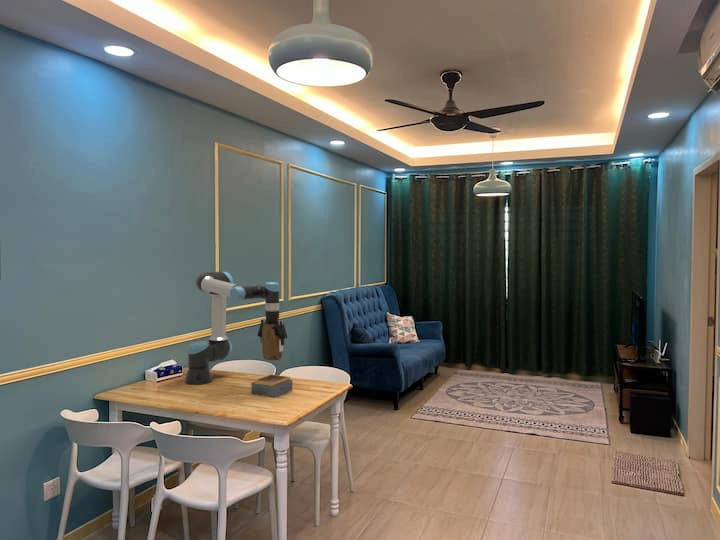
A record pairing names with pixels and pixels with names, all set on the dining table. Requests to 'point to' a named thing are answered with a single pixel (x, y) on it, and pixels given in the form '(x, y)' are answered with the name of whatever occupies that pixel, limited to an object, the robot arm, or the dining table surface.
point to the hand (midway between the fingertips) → (272, 350)
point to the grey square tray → (271, 385)
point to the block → (270, 342)
